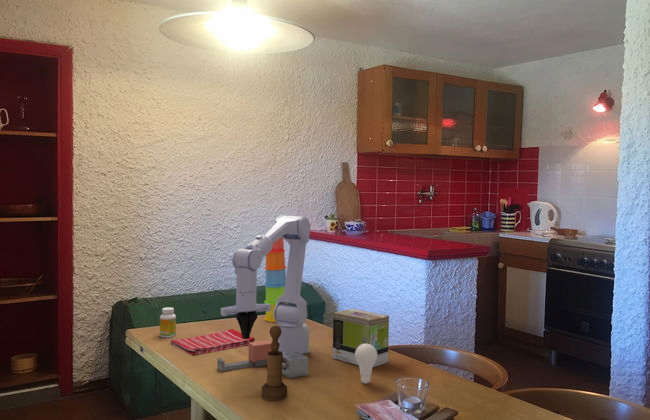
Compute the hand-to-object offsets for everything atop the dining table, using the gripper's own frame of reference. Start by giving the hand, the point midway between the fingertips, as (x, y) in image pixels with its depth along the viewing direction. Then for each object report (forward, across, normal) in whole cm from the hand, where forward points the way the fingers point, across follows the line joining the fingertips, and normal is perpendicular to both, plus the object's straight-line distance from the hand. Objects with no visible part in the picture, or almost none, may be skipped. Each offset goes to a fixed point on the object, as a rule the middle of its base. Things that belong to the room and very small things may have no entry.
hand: (245, 338), depth 161 cm
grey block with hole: (+10, -12, +7) cm, 17 cm away
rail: (+10, -3, -5) cm, 12 cm away
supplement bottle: (+10, +9, -48) cm, 50 cm away
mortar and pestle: (+10, 0, +20) cm, 22 cm away
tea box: (+10, -36, +6) cm, 38 cm away
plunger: (+8, -9, +7) cm, 14 cm away
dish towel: (+11, -2, -32) cm, 34 cm away
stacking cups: (+10, -36, -53) cm, 65 cm away
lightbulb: (+10, -26, +23) cm, 36 cm away
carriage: (+10, -7, -5) cm, 13 cm away
